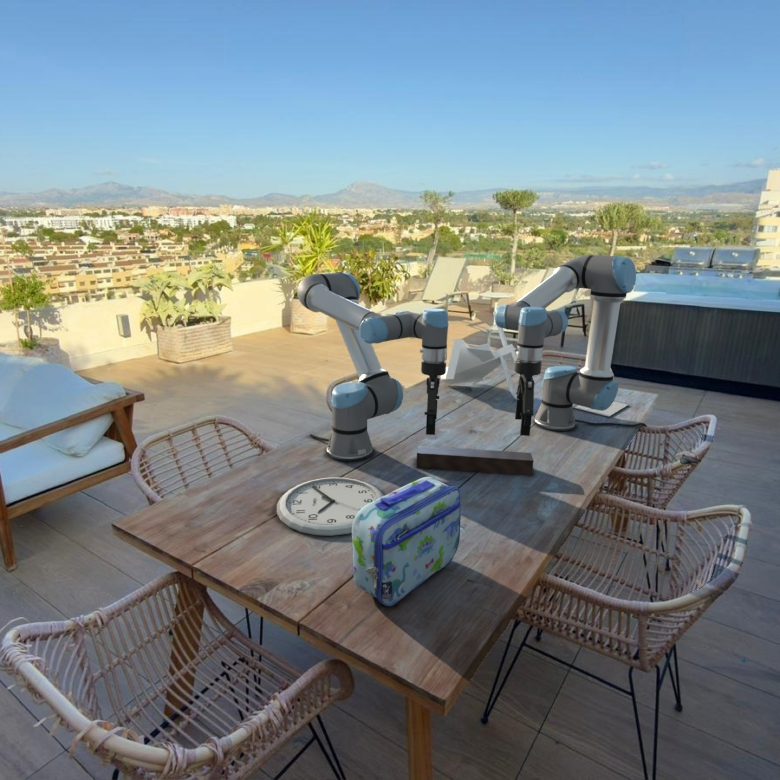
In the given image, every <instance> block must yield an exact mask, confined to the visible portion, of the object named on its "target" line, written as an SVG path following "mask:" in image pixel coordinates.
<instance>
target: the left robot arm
mask: <svg viewBox="0 0 780 780" xmlns="http://www.w3.org/2000/svg"><path fill="white" fill-rule="evenodd" d="M296 292H297V293H296V295H297V299H298V301H299V303H300V304H301V305H302V307H304V308H306V309H307V310H308V311H310V312H313V313H321V314H323V315H325V316H327V317H329V318H330V319H333V320H335V322H336V324H337V327H338V329H339V332H340V334H341V337H342V339H343V341H344V344H345V347H346V350H347V352H348V354H349V357H350V359H351V362H352V364H353V366H354V369H355V371H356V374H357V376H358V380H357V381H346V382H343V383H340V384H338V385H336V386H335V387H334V388H333V389H332V392H331V401H330V403H331V404H330V405H331V434H330V437H329V438H325V437H320V436H317V435H314V434H312V433H310V434H309V437H311V438H313V439H316V440H319V441H325V442H328V443H327V446H326V454H327V455H328V456H329V457H330V458H331V459H332V460H333V459H334V460H336V461H340V462H358V461H362V460H365V459H367V458H370V456H372V454H373V444H372V441H371V438H370V434H369V433H368V420H370V419H374V418H377V417H380V416H384V415H389V414H391V413H392V412H395V411H397V410H398V409H399V408H400V407H401V406H402V403H403V400H404V390H403V386H402V384H401V382H400V381H399V380H398V379H396V378H394V377H391V376H390V373H389V371H388V370H386V369H384V368H383V367H382V365H381V363H380V361H379V358H378V356H377V354H376V351H375V348H374V346H373V344H376V345H377V344H381V343H386V342H391V341H396V340H403V339H407V338H412V339H413V338H414V339H417V340H418V339H419V340H421V347H422V348H421V349H419V353H421V360H422V361H421V363H420V364H421V365H420V366H421V367H420V372H421V374H422V375H425V376H429V377H426V382H425V385H426V394H427V403H426V411H424V415H425V416H426V420H425V421H426V423H425V424H426V425H425V435H427V436H428V435H429V436H435V435H436V423H437V422H436V420H437V419H438V418H437V417H438V416H437V415H438V400H440V395H439V387H440V384H441V383H440V382H441V375H444V374H445V373H446V367H447V362H446V361H447V359H448V334H449V313H448V311H447V310H446V309H444V308H426V309H424V310H423V312H422V313H417V312H412V311H410V310H409V311H408V310H400V311H399V310H398V311H397V312H395V314H389V315H388V314H387V315H383V314H379V313H377V312H375V311H373V310H371V309H369V308H366V307H364V306H363V305H360V302H359V300H360V297H361V293H360V292H361V286H360V284H359V281H358V280H357V278H356V277H355V276H354V275H353V274H351V273H349V272H341V271H336V272H328V273H312V274H309V275H307V276H305V277H304V278H302V279H301V281H300V282H299V284H298V286H297V290H296Z"/></svg>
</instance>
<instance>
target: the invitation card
mask: <svg viewBox="0 0 780 780" xmlns="http://www.w3.org/2000/svg"><path fill="white" fill-rule="evenodd" d="M628 406H629V404H627V403H623V402H618V401H615V400H614V401H613V403H612V404H611V406H610V407H609V408H608V409H606V410H603V411H601V410H596V409H591V408H588V407H584V406H580V405H575V406H574V407H573V409H575V410H581V411H584V412H587V413H593V414H596V415H600V416H604V417H608V418H609V417H611V416H613V415H614V414H616V413H617V412H619V411H621V410H623V409H624V408H626V407H628Z"/></svg>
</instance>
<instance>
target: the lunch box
mask: <svg viewBox="0 0 780 780" xmlns="http://www.w3.org/2000/svg"><path fill="white" fill-rule="evenodd" d="M461 499H462V497H461V491H460V489H459V488H458V487H457V486H455V485H450V486H449V485H447V484H445V483H444V482H442V481H440V480H438V479H436V478H434V477H432V476H424V477H421V478H419V479H416V480H414V481H412V482H410V483H407V484H405V485H404V486H401V487H399V488H397V489H395V490H392V491H391V492H390V493H386V494H384V496H383V497H381V498H379V499H377V500H375V501H373V502H371V503H369V504H367V505H365V506H364V507H362V508H361V509H360V510H359V512H358V513H357V515H356V516H355V518H354V521H353V526H352V533H351V550H352V576H353V581H354V584H355V587H356V588H358V589H360V590H362V591H364V592H366V593H368V594H370V596H372V597H374V598H375V599H377V601H378V603H379V604H382V605H383V606H385V607H393V606H394V605H396V604H397V603H399V602H400V601H402V599H404V598H405V597H406V596H407V595H409V594H410V593H411V592H413V591H414V590H415V589H416V588H418V587H419V586H420V585H422V584H423V583H424V582H425V581H427V580H428V579H429V578H430V577H432V575H434V574H435V573H437V572H439V571H441V570H442V569H443V568H445V567H446V566H448V565H449V564H450V562H452V560H453V559H454V557H455V555H456V553H457V551H458V549H459V544H460V537H461V519H462V515H461V513H462V512H461V510H462V507H461V505H462V504H461V503H462V502H461Z"/></svg>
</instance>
